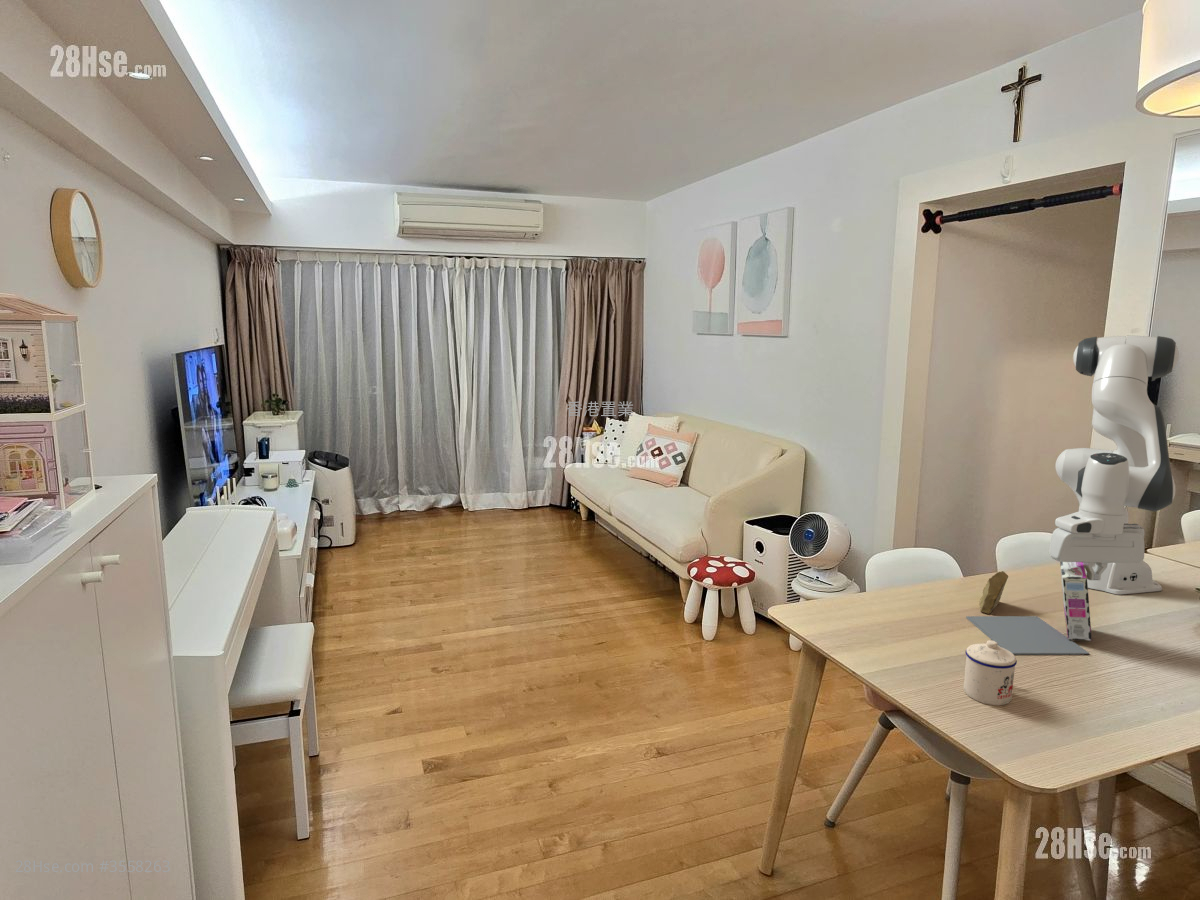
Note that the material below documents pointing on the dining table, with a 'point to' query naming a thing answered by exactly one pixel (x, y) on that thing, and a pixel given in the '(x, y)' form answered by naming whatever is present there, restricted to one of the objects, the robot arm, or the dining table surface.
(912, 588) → the dining table surface
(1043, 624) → the mat
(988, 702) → the teacup with lid
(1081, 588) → the candy bar box
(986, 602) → the rock
